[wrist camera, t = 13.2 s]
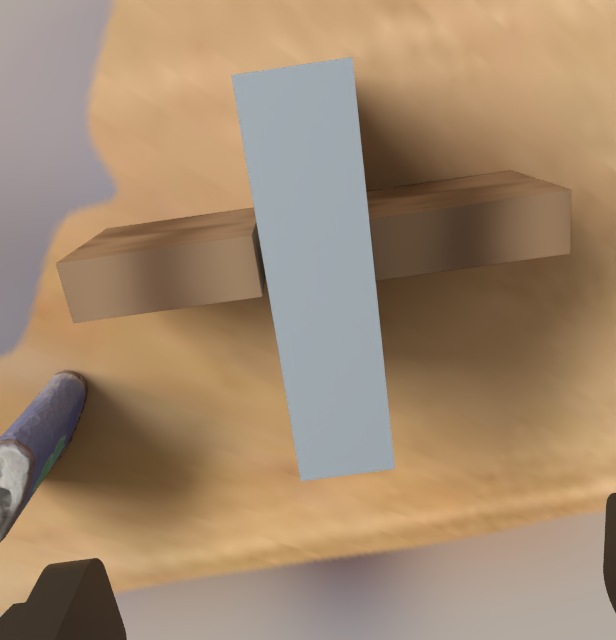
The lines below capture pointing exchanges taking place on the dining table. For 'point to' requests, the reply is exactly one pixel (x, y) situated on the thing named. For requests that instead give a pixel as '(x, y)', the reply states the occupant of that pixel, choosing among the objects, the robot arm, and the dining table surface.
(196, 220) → the walnut slotted plate
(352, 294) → the tall grey upright block
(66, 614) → the robot arm
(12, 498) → the flask
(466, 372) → the dining table surface
